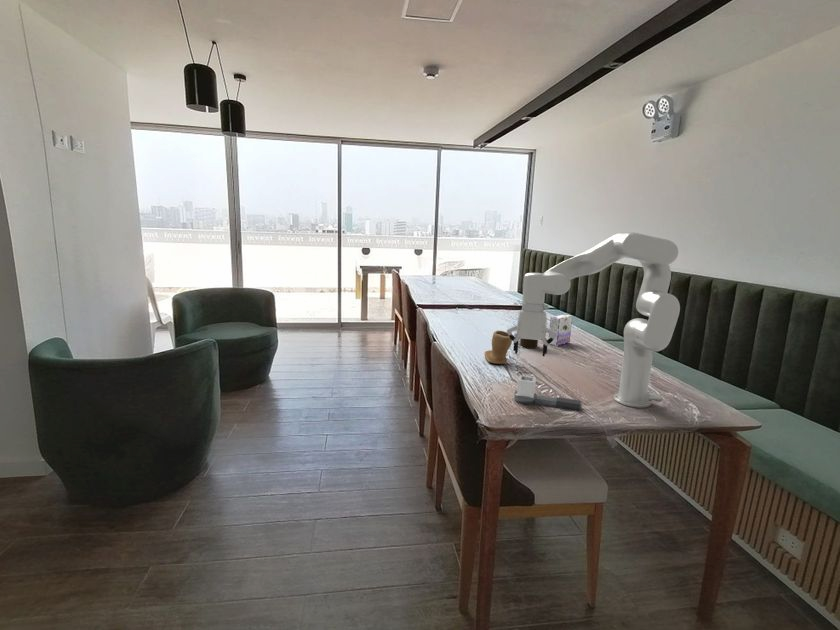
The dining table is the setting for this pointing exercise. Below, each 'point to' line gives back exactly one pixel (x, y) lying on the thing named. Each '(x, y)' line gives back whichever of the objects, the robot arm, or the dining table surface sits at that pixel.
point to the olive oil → (528, 343)
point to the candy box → (561, 329)
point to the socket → (526, 386)
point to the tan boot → (499, 348)
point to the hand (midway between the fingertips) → (529, 354)
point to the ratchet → (549, 401)
